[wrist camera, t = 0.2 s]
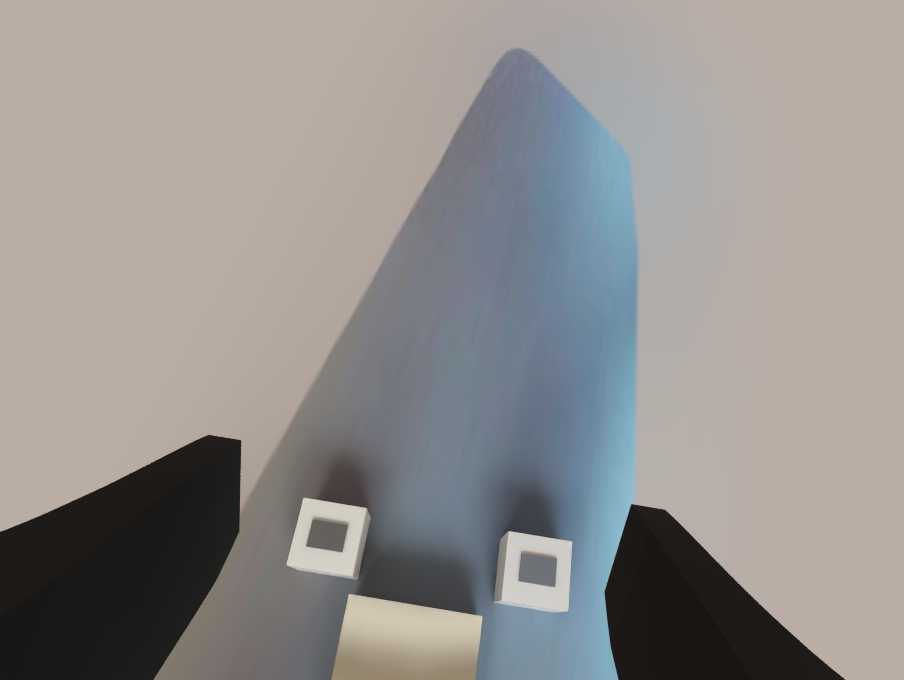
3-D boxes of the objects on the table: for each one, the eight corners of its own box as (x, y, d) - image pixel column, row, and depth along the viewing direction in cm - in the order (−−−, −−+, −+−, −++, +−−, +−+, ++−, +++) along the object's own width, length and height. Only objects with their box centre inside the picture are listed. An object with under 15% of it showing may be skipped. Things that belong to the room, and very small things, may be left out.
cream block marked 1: (553, 612, 39) (568, 611, 35) (493, 602, 39) (501, 600, 35) (558, 548, 40) (572, 541, 37) (500, 539, 40) (509, 530, 37)
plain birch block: (458, 764, 35) (463, 780, 31) (325, 741, 35) (315, 755, 31) (475, 616, 38) (482, 616, 35) (355, 596, 38) (348, 594, 35)
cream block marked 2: (358, 579, 39) (352, 575, 35) (298, 569, 39) (285, 564, 35) (370, 517, 40) (366, 507, 37) (313, 508, 40) (303, 497, 37)
